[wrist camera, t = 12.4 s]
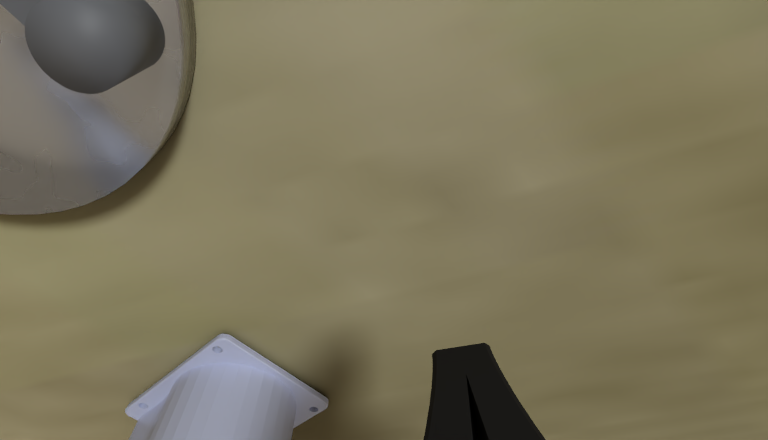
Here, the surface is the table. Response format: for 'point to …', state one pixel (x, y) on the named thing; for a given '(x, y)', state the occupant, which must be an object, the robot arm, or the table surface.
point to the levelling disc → (86, 120)
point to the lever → (90, 39)
